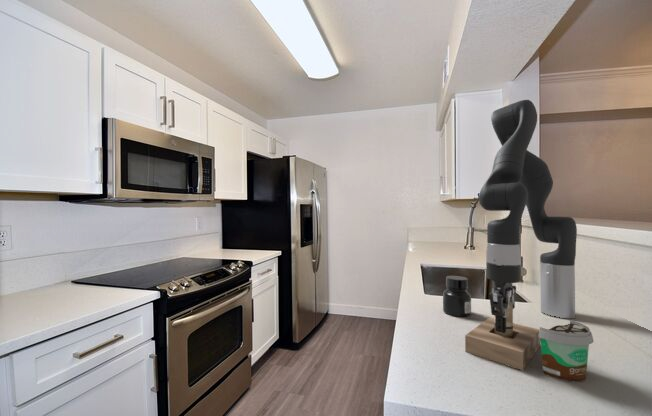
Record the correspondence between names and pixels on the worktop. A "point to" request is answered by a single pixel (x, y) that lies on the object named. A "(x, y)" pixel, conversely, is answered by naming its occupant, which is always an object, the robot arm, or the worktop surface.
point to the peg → (507, 322)
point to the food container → (565, 351)
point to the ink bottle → (457, 297)
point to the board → (503, 344)
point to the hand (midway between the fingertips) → (503, 328)
